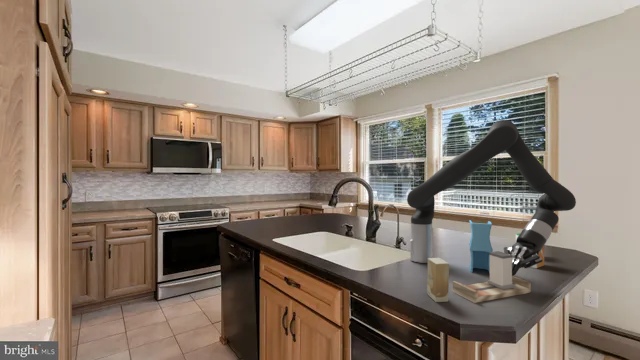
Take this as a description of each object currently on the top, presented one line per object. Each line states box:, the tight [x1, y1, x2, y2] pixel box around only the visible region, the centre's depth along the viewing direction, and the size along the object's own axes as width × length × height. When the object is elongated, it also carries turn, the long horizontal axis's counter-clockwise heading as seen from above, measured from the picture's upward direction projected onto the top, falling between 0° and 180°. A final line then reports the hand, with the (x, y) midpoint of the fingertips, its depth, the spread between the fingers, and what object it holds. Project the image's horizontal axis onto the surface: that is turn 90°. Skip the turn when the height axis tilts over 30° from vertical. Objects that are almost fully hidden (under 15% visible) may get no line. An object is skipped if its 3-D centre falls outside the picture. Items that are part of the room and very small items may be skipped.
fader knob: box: [486, 251, 514, 289], centre depth 98 cm, size 5×6×11 cm
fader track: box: [452, 275, 532, 304], centre depth 97 cm, size 24×9×4 cm, turn 108°
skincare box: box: [426, 257, 450, 303], centre depth 93 cm, size 6×4×12 cm
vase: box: [468, 219, 494, 274], centre depth 118 cm, size 8×8×20 cm
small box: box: [526, 244, 546, 269], centre depth 125 cm, size 8×6×13 cm
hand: (508, 274), depth 98 cm, fingers closed
